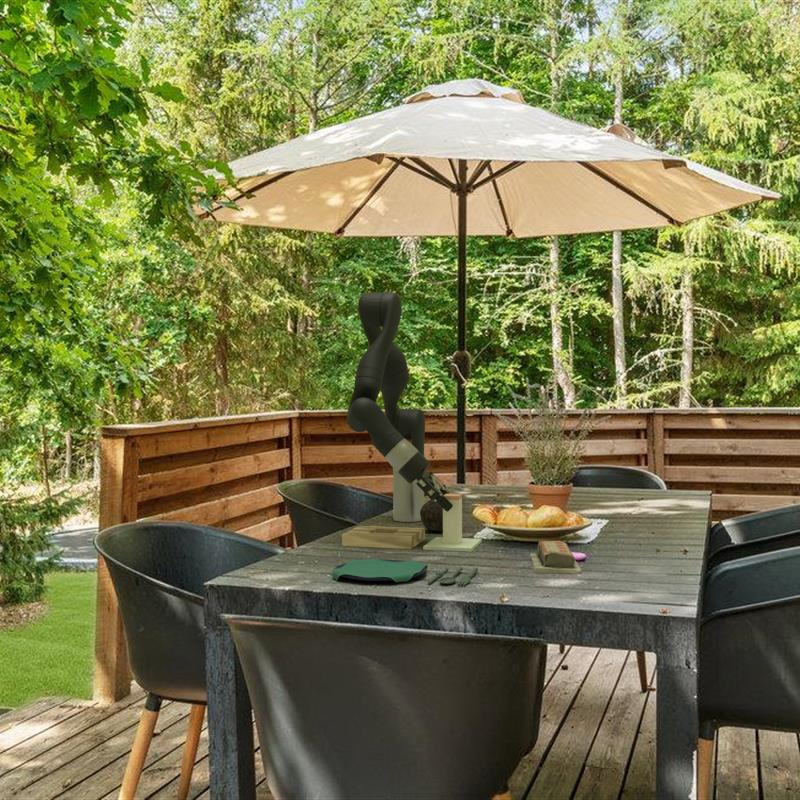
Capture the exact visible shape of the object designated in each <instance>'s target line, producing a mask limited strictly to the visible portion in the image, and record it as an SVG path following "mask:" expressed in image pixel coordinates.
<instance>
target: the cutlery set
mask: <svg viewBox="0 0 800 800" xmlns="http://www.w3.org/2000/svg"><path fill="white" fill-rule="evenodd" d="M463 568H464V567H462V566H458V568H456V570H454V571H453V573H452V575H450V576H445V577H442V576H443V574H444V573H445V572H449V567H445V569H443V570H442V571H438V572H435V575H434V576H432V577H431V578H429V579H428V580H427V583H428V584H429V585H430V584H432V583H433V582H434V581H436V580H437V579H439V583H441V584H443V585H451V584H452V585H453V584H454V583H456V579H457V577H455V576H456V575H457V574H459V573H461V572H462V571H463V570H464V569H463ZM427 570H428V565H427V564H425V563H423V562H419V561H416V560H398V559H397V560H396V559H379V558H366V559H358V560H355V559H354V560H349V561H347V562H344V563H342V564H339V565H337V566H335V567H334V568H333V569H332V571H331V575H332V577H333V579H334V580H336V581H338V582H339V577H342V578H347V579H351V580H356V581H357V580H359V581H369V582H373V581H375V582H376V581H377V582H387V581H389V582H390V581H394V582H395V583H402V582H409V581H410V580H411V579H413V578H417V577H419V576H421V575H424V574H425V573H426V572H427ZM478 570H479V569H478V567H474V568H473V569H472V570H471V572H470V573H469V574H467V575H465V574H464V576H462V577H460V580H459V581H458V582H457V584H456V586H466V585H468V584H469V583H471V579H472V578H473V577H474V576H475V574H477V573H478Z"/></svg>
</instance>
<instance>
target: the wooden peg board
mask: <svg viewBox="0 0 800 800" xmlns="http://www.w3.org/2000/svg"><path fill="white" fill-rule="evenodd" d="M425 540H426V528H425V527H404V526H403V527H401V526H398V527H397V526H379V525H378V526H376V525H368V526H367V525H358V526H356V527H353V528H352V529H350V530H347V531H345V532H343V533H342V534H341V546H342V547H356V548H359V547H360V548H379V549H380V548H381V549H398V550H399V549H400V550H401V549H403V550H405V549H406V550H412V549H413V548H415V547H417V546H418V545H419V544H421V543H422V542H424V541H425Z"/></svg>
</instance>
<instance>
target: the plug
mask: <svg viewBox="0 0 800 800" xmlns="http://www.w3.org/2000/svg"><path fill="white" fill-rule="evenodd" d="M444 496H445V497H446V499H447V500H448V501H449V502H450V503H451V504H452V505H453V507H452V508H451V509H450V510H449V511H448V512H447V511H445V510H444V509H443V532H442V537H443V544H458V545H459V544H460V543H461V542H462V538H463V493H450V494H445V495H444Z"/></svg>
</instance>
